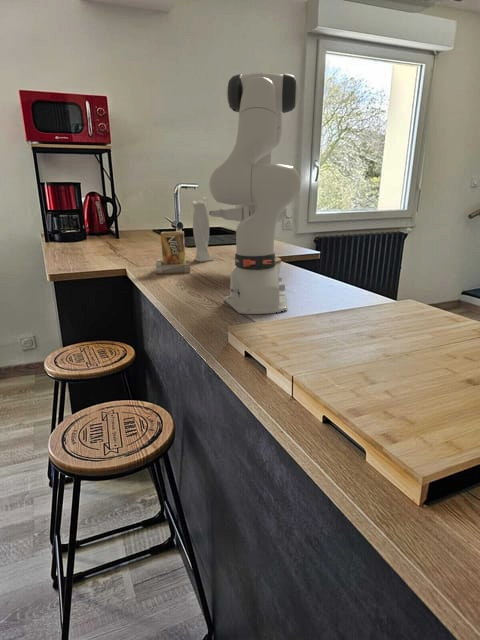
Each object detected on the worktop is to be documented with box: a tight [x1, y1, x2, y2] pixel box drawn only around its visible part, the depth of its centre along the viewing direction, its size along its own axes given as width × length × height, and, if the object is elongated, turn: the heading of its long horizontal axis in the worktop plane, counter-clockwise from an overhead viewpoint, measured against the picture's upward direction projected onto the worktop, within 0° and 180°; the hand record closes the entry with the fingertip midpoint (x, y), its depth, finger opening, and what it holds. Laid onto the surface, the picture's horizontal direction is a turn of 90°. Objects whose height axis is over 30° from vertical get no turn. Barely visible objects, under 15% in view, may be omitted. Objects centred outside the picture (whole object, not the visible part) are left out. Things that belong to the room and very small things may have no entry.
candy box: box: [160, 230, 187, 265], centre depth 170 cm, size 9×4×15 cm, turn 92°
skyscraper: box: [191, 196, 215, 263], centre depth 189 cm, size 8×8×28 cm
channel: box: [155, 258, 191, 276], centre depth 171 cm, size 10×13×4 cm
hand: (209, 213), depth 166 cm, fingers open, 8 cm apart
